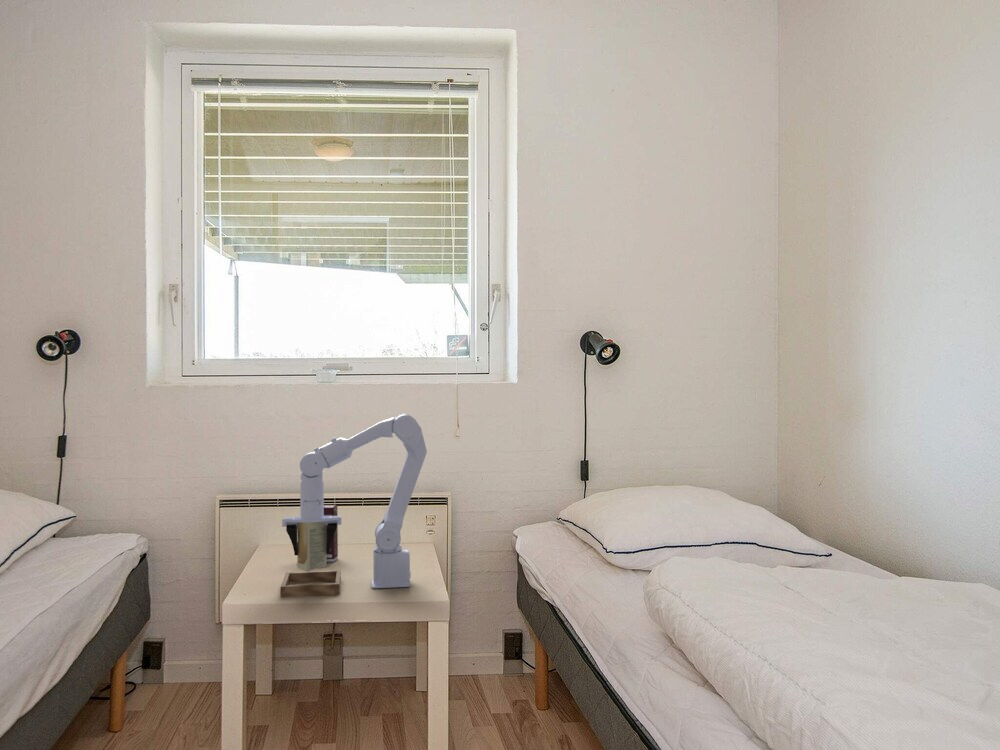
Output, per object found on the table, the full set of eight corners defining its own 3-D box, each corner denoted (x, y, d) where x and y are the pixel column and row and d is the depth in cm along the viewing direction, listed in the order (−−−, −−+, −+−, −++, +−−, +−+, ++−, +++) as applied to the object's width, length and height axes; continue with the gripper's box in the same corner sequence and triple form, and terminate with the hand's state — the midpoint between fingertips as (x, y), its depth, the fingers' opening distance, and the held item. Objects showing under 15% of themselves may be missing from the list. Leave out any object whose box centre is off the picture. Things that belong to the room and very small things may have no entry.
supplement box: (338, 558, 226) (338, 504, 226) (334, 562, 222) (334, 507, 222) (309, 558, 227) (309, 504, 227) (304, 562, 222) (304, 507, 222)
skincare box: (316, 564, 198) (317, 517, 198) (327, 567, 196) (328, 519, 196) (295, 568, 193) (296, 520, 193) (306, 571, 191) (307, 522, 191)
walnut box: (340, 579, 203) (340, 570, 203) (339, 594, 189) (339, 584, 189) (285, 582, 200) (285, 572, 200) (280, 597, 186) (280, 586, 186)
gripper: (341, 496, 200) (341, 549, 200) (284, 498, 197) (284, 551, 197) (341, 501, 193) (341, 555, 193) (281, 502, 190) (281, 557, 190)
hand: (312, 553), depth 194 cm, fingers closed on skincare box, 7 cm apart
